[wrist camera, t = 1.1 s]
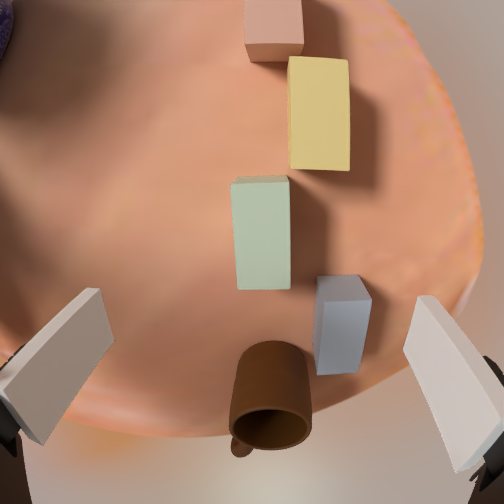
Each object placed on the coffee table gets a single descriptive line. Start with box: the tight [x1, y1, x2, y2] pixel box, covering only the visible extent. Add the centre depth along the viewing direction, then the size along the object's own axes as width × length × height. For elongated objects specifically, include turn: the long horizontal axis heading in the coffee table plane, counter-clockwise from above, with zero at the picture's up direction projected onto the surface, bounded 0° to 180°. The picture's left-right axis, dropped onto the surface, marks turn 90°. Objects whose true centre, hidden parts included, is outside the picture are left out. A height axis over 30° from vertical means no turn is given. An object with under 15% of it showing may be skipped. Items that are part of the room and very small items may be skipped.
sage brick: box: [230, 175, 290, 290], centre depth 23 cm, size 8×4×5 cm, turn 3°
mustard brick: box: [287, 56, 350, 171], centre depth 20 cm, size 8×4×5 cm, turn 1°
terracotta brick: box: [244, 0, 304, 62], centre depth 17 cm, size 8×4×5 cm, turn 1°
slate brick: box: [312, 275, 372, 375], centre depth 26 cm, size 8×4×5 cm, turn 3°
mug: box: [229, 341, 312, 457], centre depth 28 cm, size 12×8×9 cm, turn 154°
